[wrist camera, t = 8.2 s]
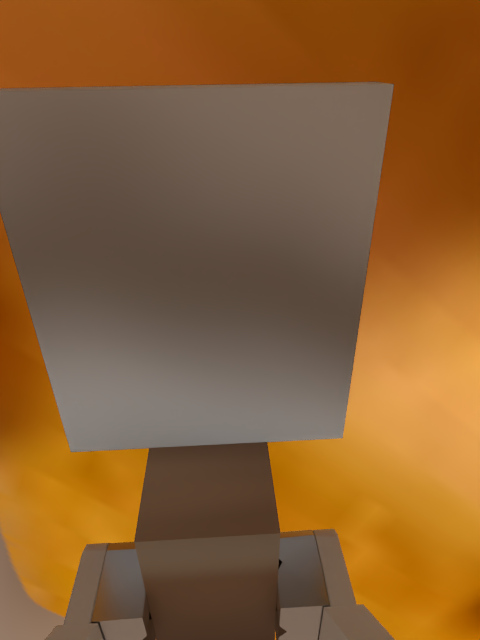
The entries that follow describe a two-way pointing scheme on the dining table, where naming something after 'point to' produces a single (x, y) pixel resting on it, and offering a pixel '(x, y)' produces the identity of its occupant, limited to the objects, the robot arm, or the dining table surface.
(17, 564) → the dining table surface
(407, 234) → the dining table surface
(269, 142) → the turner
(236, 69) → the dining table surface
